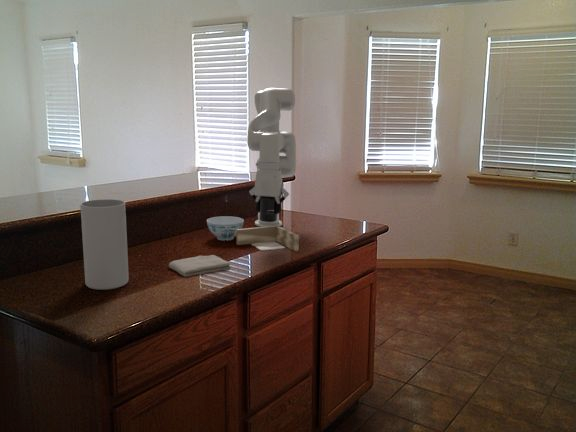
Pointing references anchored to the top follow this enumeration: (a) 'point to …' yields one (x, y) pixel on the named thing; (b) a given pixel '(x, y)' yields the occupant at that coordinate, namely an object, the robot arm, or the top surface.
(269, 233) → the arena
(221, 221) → the chinaware
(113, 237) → the cylinder vase
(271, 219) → the supplement bottle
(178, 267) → the washcloth
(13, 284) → the top surface
